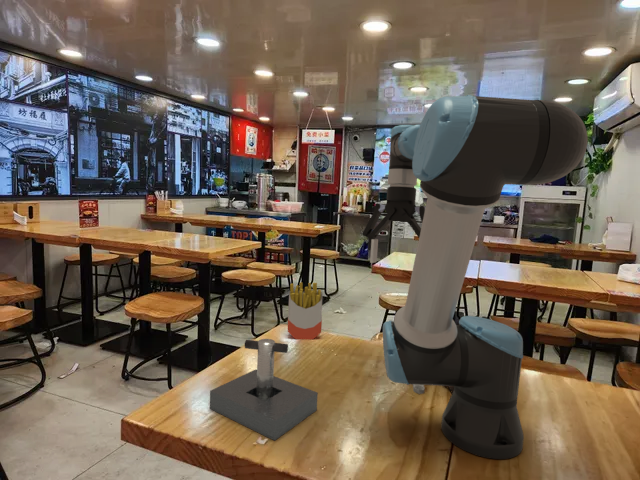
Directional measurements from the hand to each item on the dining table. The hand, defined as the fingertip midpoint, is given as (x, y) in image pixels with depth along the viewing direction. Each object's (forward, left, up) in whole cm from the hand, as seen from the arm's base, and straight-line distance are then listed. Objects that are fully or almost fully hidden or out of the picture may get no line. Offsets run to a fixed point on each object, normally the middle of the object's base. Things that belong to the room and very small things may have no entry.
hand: (396, 265), depth 107 cm
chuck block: (+12, +38, -29) cm, 49 cm away
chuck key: (+12, +38, -29) cm, 49 cm away
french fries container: (+32, -4, -29) cm, 43 cm away
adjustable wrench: (-6, -3, -29) cm, 30 cm away
